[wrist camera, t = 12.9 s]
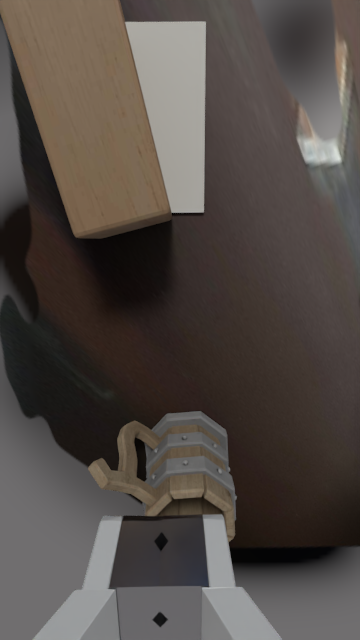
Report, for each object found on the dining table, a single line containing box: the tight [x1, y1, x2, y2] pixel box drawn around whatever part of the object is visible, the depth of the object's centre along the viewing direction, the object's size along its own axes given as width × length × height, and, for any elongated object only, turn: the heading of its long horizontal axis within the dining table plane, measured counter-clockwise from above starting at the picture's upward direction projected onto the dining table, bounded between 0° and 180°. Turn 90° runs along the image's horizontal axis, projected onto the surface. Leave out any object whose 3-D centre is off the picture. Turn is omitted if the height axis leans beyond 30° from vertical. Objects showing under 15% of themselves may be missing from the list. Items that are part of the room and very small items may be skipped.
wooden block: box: [0, 0, 172, 239], centre depth 32 cm, size 10×10×20 cm
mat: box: [125, 22, 206, 213], centre depth 36 cm, size 20×15×1 cm
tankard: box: [88, 411, 236, 542], centre depth 40 cm, size 20×13×15 cm, turn 50°
